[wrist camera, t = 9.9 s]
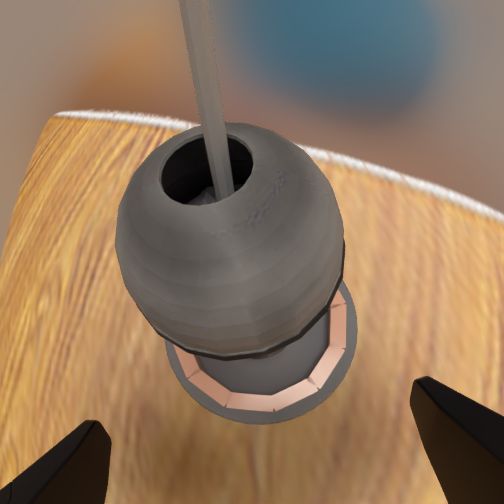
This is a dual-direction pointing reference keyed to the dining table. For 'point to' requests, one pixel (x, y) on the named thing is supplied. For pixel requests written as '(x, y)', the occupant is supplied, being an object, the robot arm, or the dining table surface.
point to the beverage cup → (228, 228)
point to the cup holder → (275, 371)
